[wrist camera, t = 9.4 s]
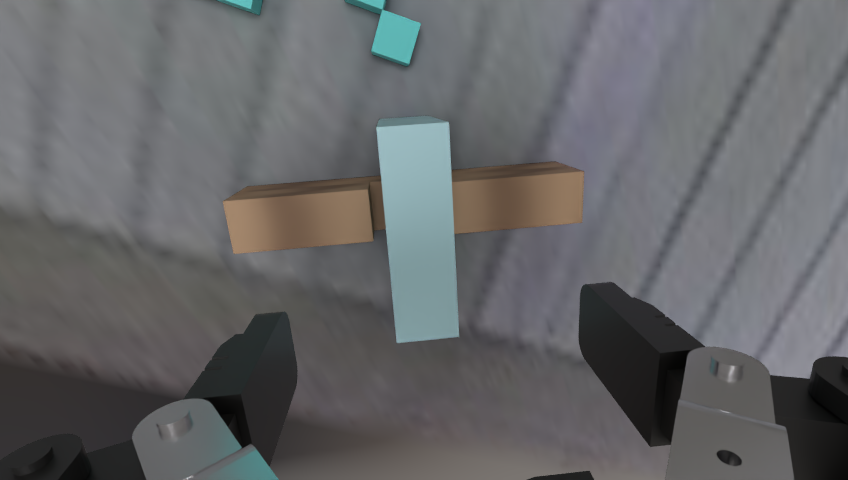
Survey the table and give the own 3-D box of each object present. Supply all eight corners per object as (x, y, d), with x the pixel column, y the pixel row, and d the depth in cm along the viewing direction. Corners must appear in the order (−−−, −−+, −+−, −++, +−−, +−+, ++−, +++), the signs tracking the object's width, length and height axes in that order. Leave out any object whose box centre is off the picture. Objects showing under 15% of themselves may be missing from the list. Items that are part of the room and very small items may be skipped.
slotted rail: (555, 161, 30) (583, 171, 25) (554, 205, 30) (582, 222, 26) (247, 186, 28) (222, 201, 24) (255, 231, 29) (233, 253, 25)
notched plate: (427, 115, 28) (448, 122, 18) (436, 264, 31) (459, 336, 21) (379, 118, 28) (376, 127, 18) (393, 268, 31) (396, 343, 21)
